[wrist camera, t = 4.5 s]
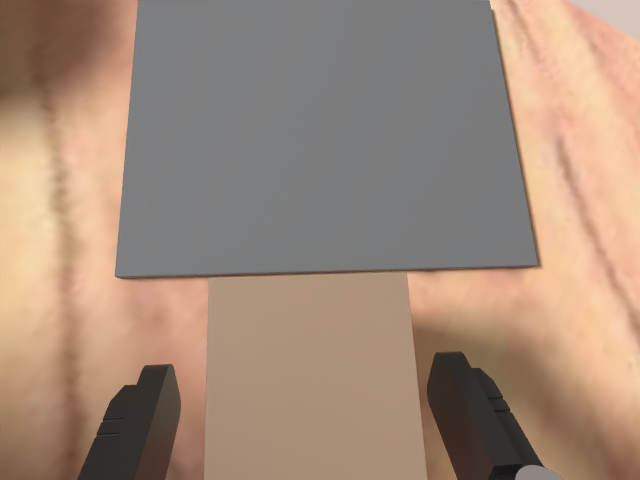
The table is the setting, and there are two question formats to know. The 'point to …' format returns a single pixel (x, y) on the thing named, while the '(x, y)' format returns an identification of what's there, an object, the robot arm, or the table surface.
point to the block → (312, 379)
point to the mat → (319, 140)
